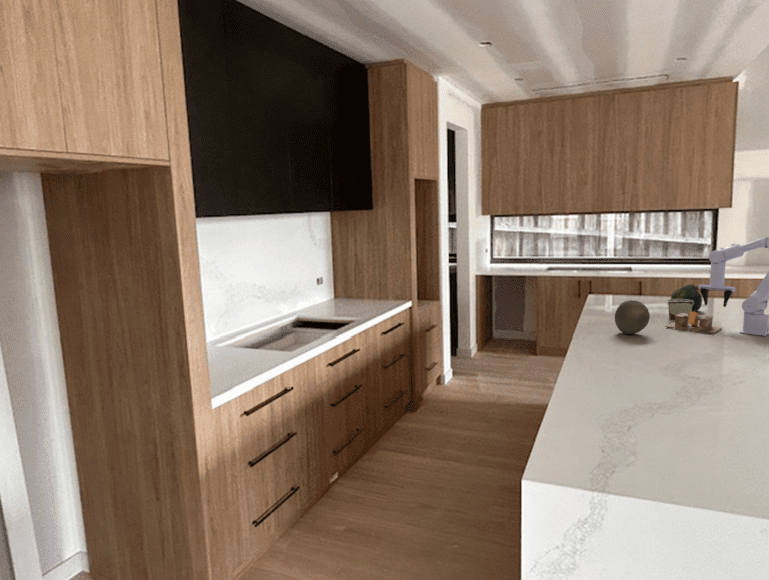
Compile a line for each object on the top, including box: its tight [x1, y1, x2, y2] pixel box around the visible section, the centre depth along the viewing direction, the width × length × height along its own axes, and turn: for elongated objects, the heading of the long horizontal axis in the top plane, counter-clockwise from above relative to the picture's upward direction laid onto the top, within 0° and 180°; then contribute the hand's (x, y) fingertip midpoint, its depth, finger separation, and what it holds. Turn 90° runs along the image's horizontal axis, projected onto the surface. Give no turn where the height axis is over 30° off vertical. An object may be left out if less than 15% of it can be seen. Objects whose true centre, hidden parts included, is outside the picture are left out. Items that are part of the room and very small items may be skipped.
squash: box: [670, 284, 703, 312], centre depth 297 cm, size 14×15×15 cm
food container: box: [666, 298, 694, 321], centre depth 276 cm, size 12×6×10 cm, turn 84°
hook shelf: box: [664, 313, 723, 335], centre depth 255 cm, size 20×13×6 cm, turn 46°
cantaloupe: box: [614, 299, 651, 335], centre depth 245 cm, size 14×14×15 cm
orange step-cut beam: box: [688, 311, 700, 326], centre depth 255 cm, size 2×7×6 cm, turn 136°
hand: (715, 305), depth 257 cm, fingers open, 7 cm apart
